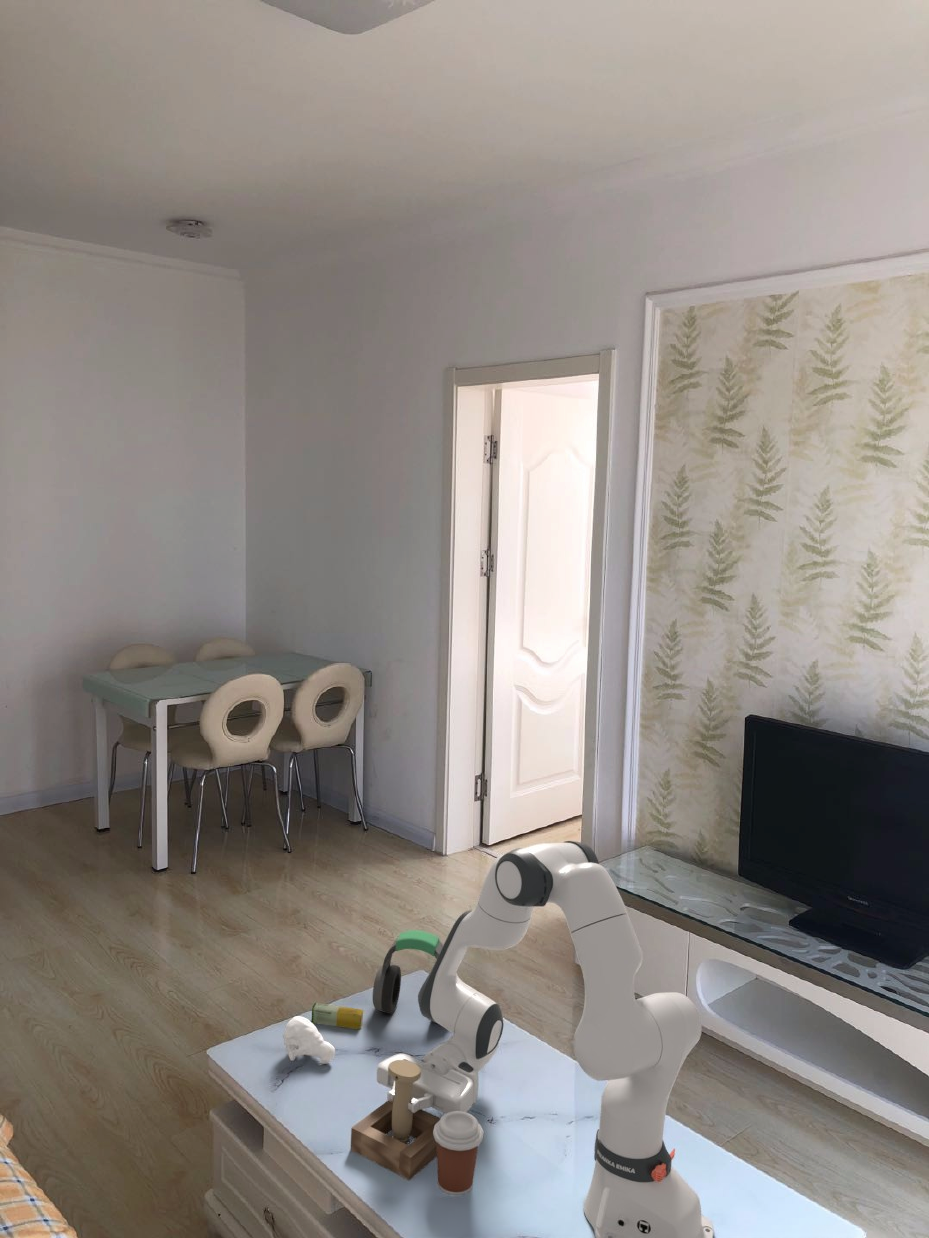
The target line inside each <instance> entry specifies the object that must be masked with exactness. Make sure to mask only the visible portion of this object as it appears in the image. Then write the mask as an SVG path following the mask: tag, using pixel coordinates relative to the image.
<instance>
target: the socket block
mask: <svg viewBox="0 0 929 1238" xmlns="http://www.w3.org/2000/svg"><path fill="white" fill-rule="evenodd" d="M392 1109H393V1103H392V1102H390V1101H388V1100H386V1101H385V1102H384V1103H383V1104H381V1105H380V1106H379V1107H377V1108H376V1109H375V1110H373V1111H372V1112H370V1113H369V1114H368V1115H366V1116H365V1117H364V1118H362V1119H361V1120H360V1121H359V1122H357V1123H356V1124H355V1125H353V1126H351V1129H350V1131H351V1132H350V1133H351V1134H350V1147H349V1148H350V1149H349V1150H350V1151H352V1152H354V1153H356V1154H357V1155H360V1156H362V1157H364V1158H366V1159H368V1160H370V1161H371V1162H372V1163H374V1164H377V1165H379V1166H381V1167H382V1168H385V1169H386V1170H389V1171H391V1172H392V1173H394V1174H396V1175H398V1176H400V1177H401V1178H403V1179H406V1180H407V1181H410V1180H412V1179H413V1178H414V1177H415V1176H416V1175H417V1174H419V1173H420V1172H421V1171H422V1170H423V1169H425V1167H427V1166H428V1165H429V1164H430V1163H431V1162H432V1161H434V1159H437V1142H436V1141H435V1138H434V1136H433V1130H434V1126H435V1124H436V1123H437V1122H438V1121H439V1120H440V1118H441V1117H440V1116H437V1115H435V1114H432V1113H431V1112H428V1111H426V1110H425V1109H421V1110H418V1111H416V1112H415V1113H413V1120H412V1128H411V1133H410V1135H409V1136H410V1137H412V1138H413V1141H411V1142H409V1143H407V1144H405V1143H402V1142H400V1141H398V1140H396V1139H394V1138H392V1136H391V1135H389V1134H390V1133H391V1132H392Z"/></svg>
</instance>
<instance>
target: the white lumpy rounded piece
mask: <svg viewBox="0 0 929 1238" xmlns="http://www.w3.org/2000/svg"><path fill="white" fill-rule="evenodd" d="M284 1029H285V1030H284V1032H283V1034H282V1037H283V1043H284V1046H285V1048H286V1052H287V1054H288V1058H289V1060H290V1061H292V1062H294V1061H295V1059H296V1057H300V1056H304V1055H305V1056H314V1057H316V1058H318V1059H319V1061H317V1063H318V1064H319V1066H321V1065H325V1064H326V1065H329V1063H330V1062H331V1061H332V1060H334V1058H335V1055H336V1049H335V1047H334V1046H333V1045H332V1044H331V1043H330V1042H328V1041H325V1039H324V1037H323V1035H322V1034H321V1033H320V1032H319V1030H318V1028H317V1026H316V1025H315V1023H311V1021H310V1020H309V1019H308V1018H306V1017H304V1016H299V1015H297V1016H296V1015H295V1016H294V1017H292V1018H291V1019H290V1020H289V1021H288V1022H287V1024H286V1026H285V1028H284Z"/></svg>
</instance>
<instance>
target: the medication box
mask: <svg viewBox="0 0 929 1238" xmlns="http://www.w3.org/2000/svg"><path fill="white" fill-rule="evenodd" d="M363 1019H364V1009H359V1008H355V1007H354V1008H353V1007H347V1006H339V1005H338V1006H337V1005H332V1004H326V1003H324V1004H323V1003H318V1002H314V1003H313V1005H312V1008H311V1021H310V1022H311V1023H313V1024H319V1025H323V1026H324V1025H325V1026H331V1027H332V1026H333V1027H340V1028H341V1027H342V1028H347V1029H355V1030H362V1027H363V1024H364V1023H363V1022H364V1020H363Z"/></svg>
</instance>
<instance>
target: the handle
mask: <svg viewBox="0 0 929 1238" xmlns="http://www.w3.org/2000/svg"><path fill="white" fill-rule="evenodd" d="M388 1073H389V1074H390V1076H391V1077H392V1078H393V1079H394V1080H395V1091H394V1101H393V1109H392V1131H391V1132H392V1135H391V1137H392V1138H394V1139H396V1140H398V1141H400V1142H402V1143H405V1144H407V1145H408V1144H410V1140H411V1136H410V1133H411V1128H412V1120H413V1112H411V1111H409V1110H408V1109H407V1108H408V1102H409V1101H411V1100H412V1099H413V1082H416V1081H417V1080H418V1079H419V1078H420V1076H421V1069H420V1068H419V1067H418V1066H417V1065H416V1064H414V1063H412V1062H410V1061H406V1060H395V1061H393V1062H391V1063H390V1064H389V1066H388Z"/></svg>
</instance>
